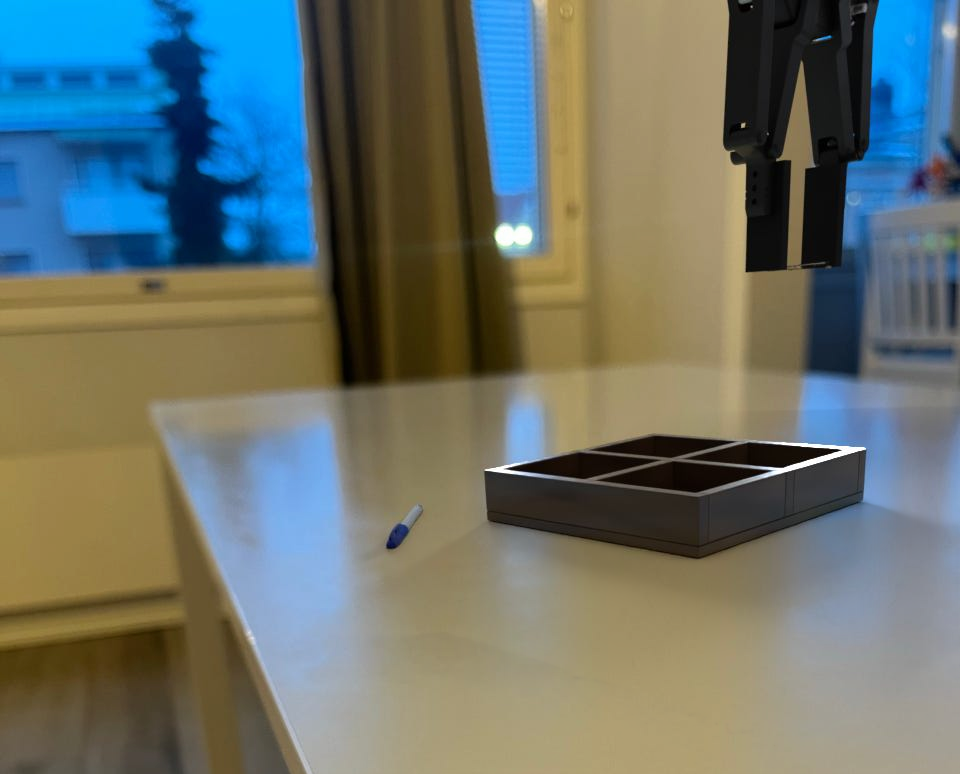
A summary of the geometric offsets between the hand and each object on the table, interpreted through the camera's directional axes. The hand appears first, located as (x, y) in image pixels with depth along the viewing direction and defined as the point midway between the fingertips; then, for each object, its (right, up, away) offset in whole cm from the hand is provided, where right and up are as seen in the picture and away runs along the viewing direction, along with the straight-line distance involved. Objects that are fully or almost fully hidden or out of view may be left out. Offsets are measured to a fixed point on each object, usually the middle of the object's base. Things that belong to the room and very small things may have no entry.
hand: (794, 268), depth 67 cm
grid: (-10, -17, -7) cm, 21 cm away
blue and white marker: (-26, -19, -6) cm, 33 cm away
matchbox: (0, 0, 0) cm, 0 cm away
